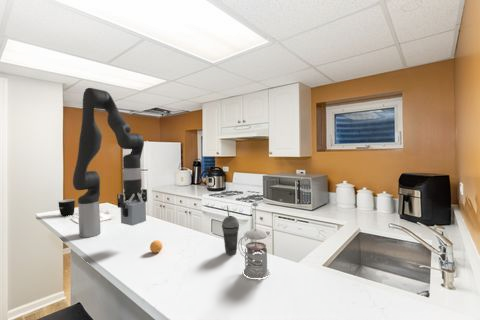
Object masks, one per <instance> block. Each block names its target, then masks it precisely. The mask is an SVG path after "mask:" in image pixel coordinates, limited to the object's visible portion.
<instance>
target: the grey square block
mask: <svg viewBox="0 0 480 320" xmlns="http://www.w3.org/2000/svg"><path fill="white" fill-rule="evenodd" d="M146 203H147V202H142V201H141V202H140V201H136V200H134V201H131V203H130V204H129V205H128V217H124V216H123V213H122V208H120V223H121V224H123V225H126V226H127V225H128V226H132V227H133V226H135V225H138V224H141V223H144V222H146V221H147V218H146V217H147V207H146ZM125 205H126V204H125Z"/></svg>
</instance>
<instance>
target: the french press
mask: <svg viewBox="0 0 480 320" xmlns="http://www.w3.org/2000/svg"><path fill="white" fill-rule="evenodd" d="M258 206H259V204H258V202H253V203H252V207H254V220H255V221H254V222H255V225H254V226H255V227H254V228H253V229H249V230H247V231H246V232H244V234H243V235H244V236H242V237H241V238H240V239H239V240H238V242H237V247H241V249H240V248H238V250H239V253H240V255H241V256H242V257H244V264H245V265H244V266H245V267H244V269H243V270H244V274H245V275H246V276H248V277H250V278H263V277H266V276H268V275H269V273H270V274H271V271H270V270H269V269H268V250H267V248H266V247H267V244H265V243H263V242H261V241H260V240H264V239H266V238H267V236H268V233H267V232H266V231H264V230H262V229H259V228H257V219H256V218H257V216H256V215H257V212H256V210H257V209H256V208H257V207H258ZM243 240H244V241H245V242H246V241H248V240H255V241H250V242H247V243H246V244H245V249H244V250H243V247H242V244H243V243H242V242H243ZM257 240H258V241H257ZM241 251H242V252H241ZM269 271H270V272H269ZM269 276H270V275H269Z"/></svg>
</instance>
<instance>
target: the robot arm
mask: <svg viewBox="0 0 480 320" xmlns="http://www.w3.org/2000/svg"><path fill="white" fill-rule="evenodd" d="M95 109H97V110H104V111H105V112H106V113H107V114H108V115H107V125H108V127H110V129H111V130H112V132H113V133H114V134H115V137H116V142H117V145H118V146H119V147H120V148H121V149H123V150H131V151H130V153H128V154H125V155H123V157H122V168H123V169H122V170H123V171H122V185H123V186H122V187H123V188H122V189H123V191H124V192H123V193H117V195H116V200H117V201H116V203H117V208H120V209H121V208H122V213H123V216H124V217H128V205H129V204H130V203H131V201H134V200H136V201H140V202H141V201H142V202H146V203H147V202H148V189H146V188H142V186H143V185H142V183H143V182H142V168H141V167H142V166H141V158H142V154H143V150H144V146H145V140H144V137H143V136H142V134H140V133H136V132H135V133H134V132H131V130H132V129H131V126H130V124H129V123H128V122H127V121H126V119H125V118H124V117H123V116H122V114H121V112H120V111H119V109H118V106H117V104H116V103H115V100H114V98H113V97H112V95H111V94H110V93H109V92H108V91H107V90H102V89H99V88H98V89H97V88H94V87H87V88H86V89H85V90H84V92H83V95H82V113H81V114H82V118H81V119H82V120H81V128H80V134H79V140H78V152H77V158H76V164H75V167H74V172H73V177H72V186H73V188H74V189H75V191H83V190H85V191H86V190H87V191H86V192H85V193H84V194H83V195H80V196H79V197H78V198H77V205H78V215H79V224H78V233H79V236H80V238H92V237H96V236H99V235H100V234H101V221H100V213H101V212H100V196H101V195H100V194H101V179H100V174H99V173H98V171H96V170H89V171H88V167H89V165H90V163H91V162H92V160H93V159H94V158H95V157H96V156H97V154H98V153H99V151H100V149H101V146H102V145H101V144H102V138H103V137H102V136H103V135H102V132H101V131H100V128H99V126H98V125H97V124H98V123H97V122H96V120H95ZM125 204H126V205H125Z"/></svg>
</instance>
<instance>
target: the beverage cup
mask: <svg viewBox="0 0 480 320" xmlns="http://www.w3.org/2000/svg"><path fill="white" fill-rule="evenodd" d="M226 209H227V216H226V217H224V218H223V220H222V223H221V224H222V225H221V228H222V233H223V244H224V251H225V255H227V256H234V255H236V254H237V250H238V237H239V236H238V235H239V229H240V223H239V220H238V218H237V217H235V216H233V215H230V212H229V205H226Z"/></svg>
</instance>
